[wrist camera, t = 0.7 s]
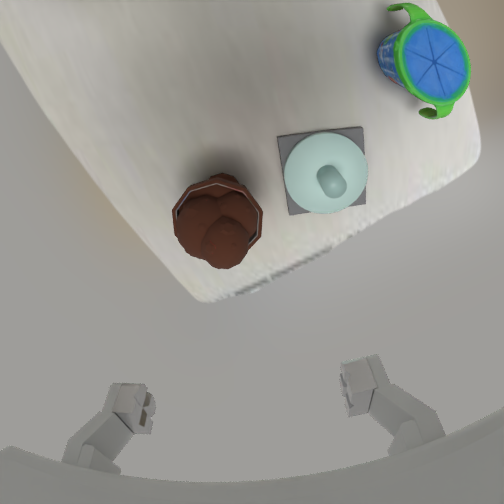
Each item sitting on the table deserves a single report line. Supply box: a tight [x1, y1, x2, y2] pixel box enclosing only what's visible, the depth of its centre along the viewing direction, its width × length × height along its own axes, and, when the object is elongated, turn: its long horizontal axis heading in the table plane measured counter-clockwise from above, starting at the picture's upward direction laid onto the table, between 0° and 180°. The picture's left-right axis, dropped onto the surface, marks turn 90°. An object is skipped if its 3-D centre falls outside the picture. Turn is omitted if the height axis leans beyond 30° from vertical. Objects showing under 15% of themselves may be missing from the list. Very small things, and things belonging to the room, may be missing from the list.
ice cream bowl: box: [172, 173, 263, 269], centre depth 38 cm, size 11×11×15 cm
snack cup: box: [377, 3, 471, 119], centre depth 27 cm, size 16×10×10 cm
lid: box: [284, 132, 368, 214], centre depth 39 cm, size 12×12×5 cm
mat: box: [277, 127, 366, 215], centre depth 42 cm, size 12×12×1 cm
